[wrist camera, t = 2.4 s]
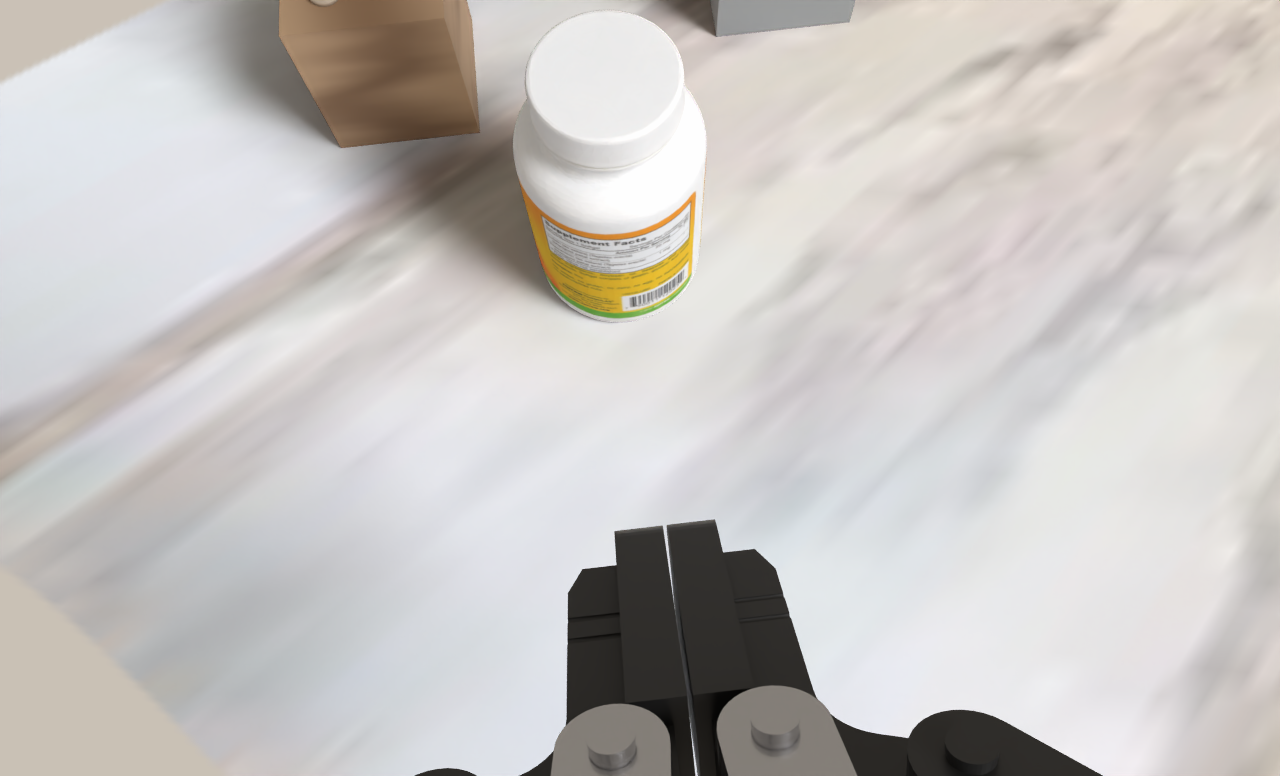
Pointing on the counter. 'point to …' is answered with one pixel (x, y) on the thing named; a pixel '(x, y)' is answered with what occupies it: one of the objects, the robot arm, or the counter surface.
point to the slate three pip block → (776, 14)
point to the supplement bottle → (612, 165)
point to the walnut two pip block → (385, 66)
